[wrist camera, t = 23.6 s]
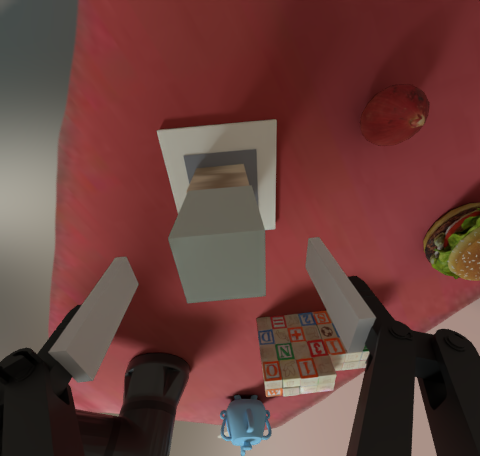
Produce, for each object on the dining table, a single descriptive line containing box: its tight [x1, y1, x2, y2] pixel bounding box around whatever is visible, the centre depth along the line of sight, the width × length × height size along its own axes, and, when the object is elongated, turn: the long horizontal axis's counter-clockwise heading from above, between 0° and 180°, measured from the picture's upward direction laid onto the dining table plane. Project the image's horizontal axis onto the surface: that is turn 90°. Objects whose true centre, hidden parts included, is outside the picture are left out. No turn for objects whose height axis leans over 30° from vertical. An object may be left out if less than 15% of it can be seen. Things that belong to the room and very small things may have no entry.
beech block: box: [186, 164, 250, 193], centre depth 25 cm, size 6×6×8 cm
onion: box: [360, 84, 429, 146], centre depth 22 cm, size 6×6×8 cm
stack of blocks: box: [256, 311, 370, 397], centre depth 42 cm, size 21×6×12 cm, turn 96°
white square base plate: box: [157, 119, 277, 230], centre depth 29 cm, size 14×15×1 cm
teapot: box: [220, 395, 271, 456], centre depth 62 cm, size 13×14×11 cm
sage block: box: [168, 185, 266, 303], centre depth 18 cm, size 6×6×8 cm
